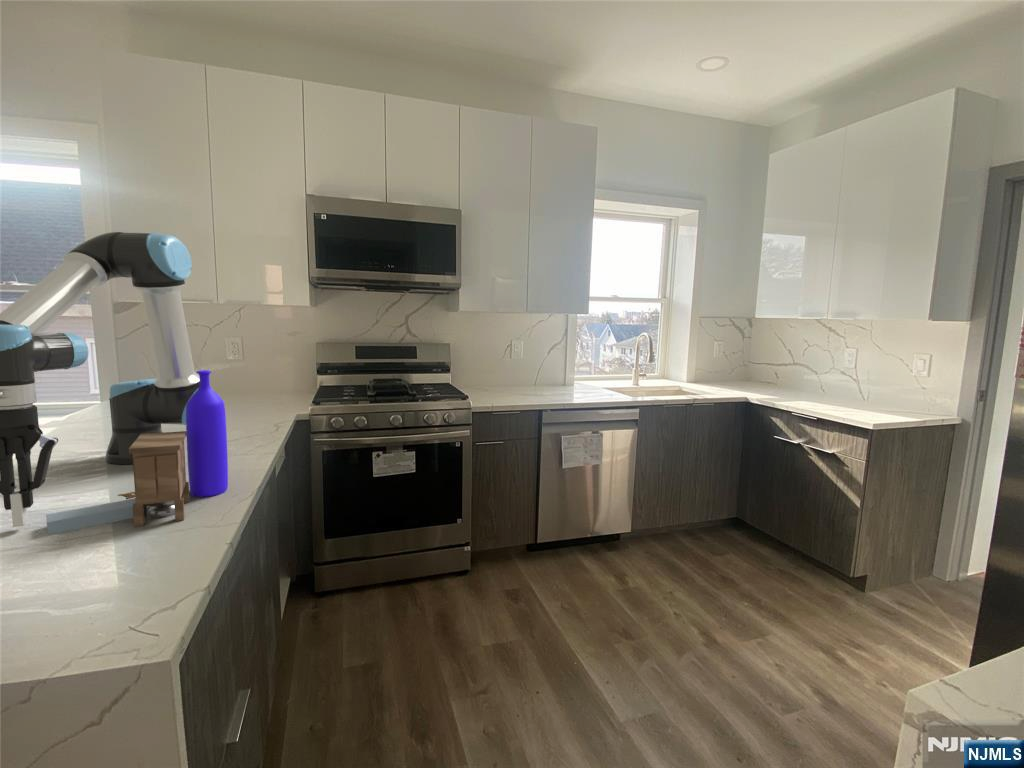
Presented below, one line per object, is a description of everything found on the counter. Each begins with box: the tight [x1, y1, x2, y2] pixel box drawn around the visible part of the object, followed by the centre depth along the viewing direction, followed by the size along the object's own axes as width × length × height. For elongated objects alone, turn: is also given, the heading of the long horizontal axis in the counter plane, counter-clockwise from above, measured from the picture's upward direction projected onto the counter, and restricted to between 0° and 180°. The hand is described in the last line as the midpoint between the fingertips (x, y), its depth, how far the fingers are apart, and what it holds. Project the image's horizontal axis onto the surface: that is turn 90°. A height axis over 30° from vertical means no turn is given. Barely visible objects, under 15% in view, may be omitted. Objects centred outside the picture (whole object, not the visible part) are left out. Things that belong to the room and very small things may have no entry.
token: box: [145, 501, 175, 519], centre depth 108 cm, size 6×6×2 cm
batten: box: [45, 497, 136, 536], centre depth 103 cm, size 5×15×3 cm, turn 135°
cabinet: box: [129, 430, 190, 528], centre depth 107 cm, size 14×8×16 cm, turn 28°
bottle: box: [185, 369, 229, 498], centre depth 120 cm, size 8×8×30 cm
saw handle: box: [117, 491, 135, 500], centre depth 126 cm, size 24×5×1 cm, turn 143°
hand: (20, 523), depth 97 cm, fingers closed
